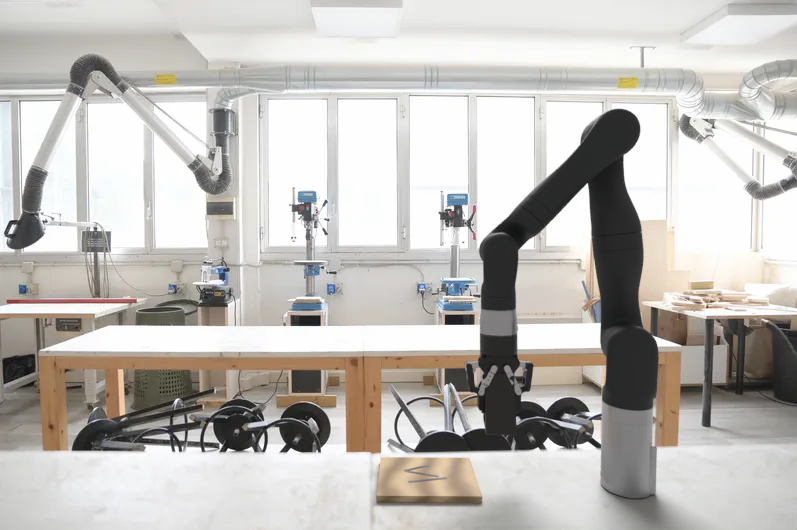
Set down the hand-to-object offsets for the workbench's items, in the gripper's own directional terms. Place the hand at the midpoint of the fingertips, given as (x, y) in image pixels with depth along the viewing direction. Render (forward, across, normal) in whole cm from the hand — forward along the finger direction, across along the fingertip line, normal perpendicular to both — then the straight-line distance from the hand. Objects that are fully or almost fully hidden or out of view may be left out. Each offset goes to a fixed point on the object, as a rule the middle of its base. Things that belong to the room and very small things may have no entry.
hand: (498, 411), depth 94 cm
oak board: (+14, +15, 0) cm, 21 cm away
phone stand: (+3, 0, 0) cm, 3 cm away
